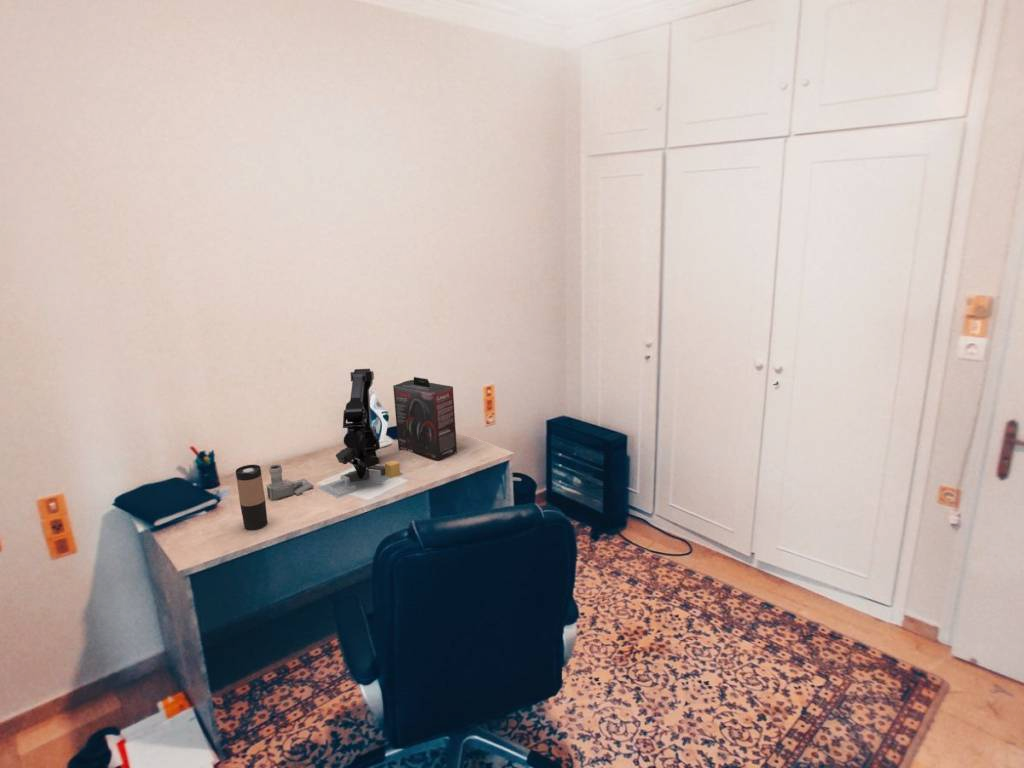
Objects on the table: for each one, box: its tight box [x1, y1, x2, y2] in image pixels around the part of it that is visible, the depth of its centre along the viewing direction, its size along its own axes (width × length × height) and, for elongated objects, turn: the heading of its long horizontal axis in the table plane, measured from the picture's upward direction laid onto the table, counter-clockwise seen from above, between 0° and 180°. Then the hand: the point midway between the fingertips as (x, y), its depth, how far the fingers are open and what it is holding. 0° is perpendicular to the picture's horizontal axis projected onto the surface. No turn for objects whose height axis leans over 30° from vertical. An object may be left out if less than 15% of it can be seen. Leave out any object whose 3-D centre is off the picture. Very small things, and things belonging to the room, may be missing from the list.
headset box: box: [392, 376, 458, 461], centre depth 262 cm, size 25×12×33 cm, turn 53°
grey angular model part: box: [266, 464, 314, 501], centre depth 227 cm, size 9×12×15 cm
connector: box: [384, 460, 401, 479], centre depth 239 cm, size 4×4×5 cm
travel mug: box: [235, 464, 268, 531], centre depth 201 cm, size 8×8×20 cm
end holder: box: [326, 480, 356, 496], centre depth 227 cm, size 8×7×2 cm
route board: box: [317, 464, 404, 499], centre depth 235 cm, size 14×29×4 cm, turn 136°
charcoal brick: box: [348, 469, 369, 482], centre depth 236 cm, size 3×7×3 cm, turn 113°
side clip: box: [340, 469, 371, 485], centre depth 236 cm, size 5×10×2 cm, turn 136°
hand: (361, 478), depth 234 cm, fingers closed
